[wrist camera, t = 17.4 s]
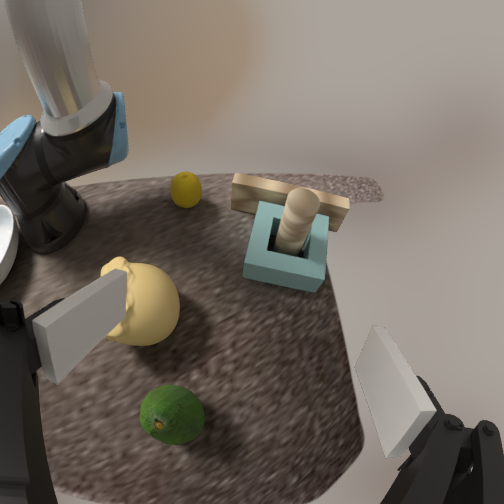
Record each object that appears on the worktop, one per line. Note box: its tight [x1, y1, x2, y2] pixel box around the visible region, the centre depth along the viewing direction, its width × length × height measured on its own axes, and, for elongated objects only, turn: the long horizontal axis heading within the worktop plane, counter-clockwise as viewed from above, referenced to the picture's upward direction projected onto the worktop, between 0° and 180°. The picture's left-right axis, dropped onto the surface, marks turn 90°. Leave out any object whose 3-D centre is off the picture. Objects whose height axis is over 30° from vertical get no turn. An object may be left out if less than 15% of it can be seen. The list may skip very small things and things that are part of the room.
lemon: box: [170, 172, 202, 208], centre depth 49 cm, size 6×6×8 cm
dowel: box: [272, 188, 320, 257], centre depth 43 cm, size 4×4×14 cm
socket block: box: [242, 201, 329, 293], centre depth 47 cm, size 12×12×5 cm
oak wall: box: [231, 173, 349, 232], centre depth 50 cm, size 20×2×7 cm, turn 79°
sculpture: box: [101, 257, 180, 346], centre depth 37 cm, size 11×12×11 cm
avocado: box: [140, 385, 205, 445], centre depth 29 cm, size 8×8×12 cm
